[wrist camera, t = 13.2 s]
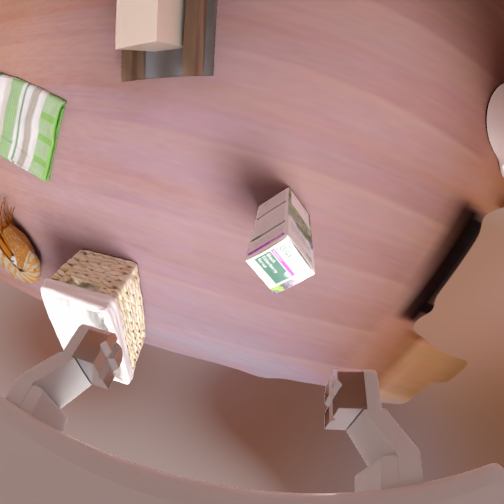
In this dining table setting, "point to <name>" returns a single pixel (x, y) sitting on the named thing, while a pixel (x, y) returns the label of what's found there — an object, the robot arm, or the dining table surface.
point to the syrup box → (281, 242)
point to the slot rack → (179, 60)
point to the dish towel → (29, 125)
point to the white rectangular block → (150, 25)
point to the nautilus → (17, 252)
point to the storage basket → (98, 303)
